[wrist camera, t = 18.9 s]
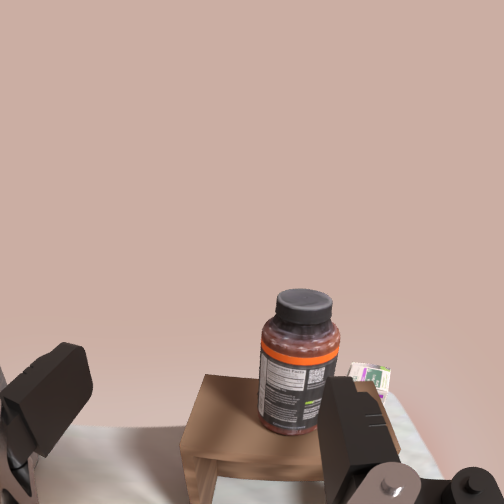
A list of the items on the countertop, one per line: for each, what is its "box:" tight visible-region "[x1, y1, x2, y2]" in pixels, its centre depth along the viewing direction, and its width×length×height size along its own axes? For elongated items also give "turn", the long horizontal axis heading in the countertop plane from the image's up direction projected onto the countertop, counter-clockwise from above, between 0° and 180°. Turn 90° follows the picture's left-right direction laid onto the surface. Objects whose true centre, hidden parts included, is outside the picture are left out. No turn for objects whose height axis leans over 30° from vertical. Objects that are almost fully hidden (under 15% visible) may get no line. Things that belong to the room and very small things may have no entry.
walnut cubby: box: [179, 374, 401, 504], centre depth 27 cm, size 18×10×17 cm, turn 86°
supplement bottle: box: [257, 289, 340, 436], centre depth 23 cm, size 6×6×11 cm
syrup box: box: [346, 362, 391, 406], centre depth 36 cm, size 6×6×14 cm
